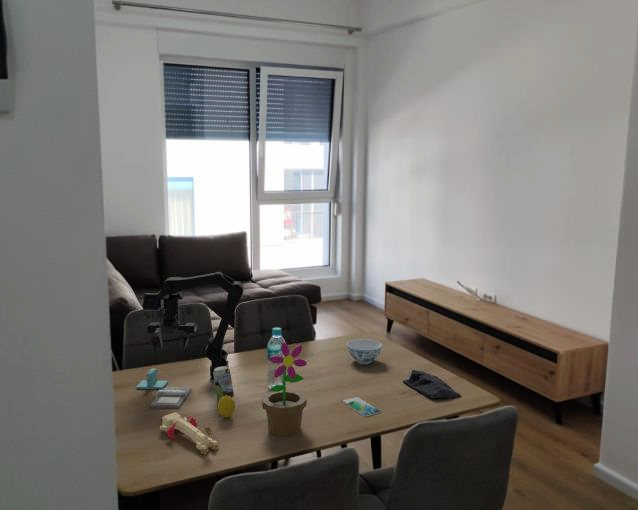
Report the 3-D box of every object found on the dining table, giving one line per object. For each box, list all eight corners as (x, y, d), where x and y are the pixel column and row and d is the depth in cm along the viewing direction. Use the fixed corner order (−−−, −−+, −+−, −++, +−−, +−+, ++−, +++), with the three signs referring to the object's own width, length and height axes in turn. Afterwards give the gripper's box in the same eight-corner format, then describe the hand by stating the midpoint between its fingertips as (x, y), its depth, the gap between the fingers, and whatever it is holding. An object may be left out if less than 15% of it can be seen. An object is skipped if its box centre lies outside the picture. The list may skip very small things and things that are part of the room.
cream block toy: (224, 450, 172) (178, 418, 189) (225, 423, 170) (179, 393, 187) (196, 462, 165) (151, 428, 182) (196, 434, 163) (151, 402, 180)
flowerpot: (270, 442, 174) (269, 347, 170) (256, 423, 187) (254, 334, 183) (313, 434, 180) (313, 341, 175) (297, 416, 193) (296, 329, 188)
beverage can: (230, 403, 202) (229, 371, 201) (211, 402, 204) (210, 369, 202) (236, 397, 208) (235, 365, 207) (217, 395, 210) (216, 364, 208)
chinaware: (383, 367, 239) (383, 350, 238) (347, 367, 239) (347, 349, 238) (380, 356, 254) (380, 339, 253) (346, 355, 254) (346, 338, 253)
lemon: (227, 423, 187) (227, 399, 186) (214, 419, 190) (214, 396, 189) (238, 416, 192) (238, 394, 191) (225, 413, 195) (225, 390, 194)
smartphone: (357, 396, 208) (382, 411, 196) (357, 398, 209) (381, 413, 196) (340, 399, 205) (364, 415, 192) (340, 402, 205) (364, 418, 192)
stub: (167, 382, 222) (167, 368, 221) (162, 389, 215) (161, 374, 214) (142, 382, 222) (141, 367, 221) (136, 388, 216) (135, 374, 215)
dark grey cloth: (427, 403, 204) (427, 390, 204) (400, 381, 225) (400, 370, 224) (464, 398, 209) (465, 386, 208) (434, 377, 230) (435, 366, 229)
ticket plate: (191, 390, 215) (191, 383, 214) (179, 408, 199) (178, 401, 198) (164, 389, 215) (164, 383, 215) (150, 407, 199) (150, 400, 199)
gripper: (140, 315, 215) (142, 355, 217) (189, 315, 214) (191, 356, 217) (150, 308, 226) (151, 346, 228) (197, 308, 225) (198, 346, 228)
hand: (172, 348), depth 225 cm, fingers open, 9 cm apart
